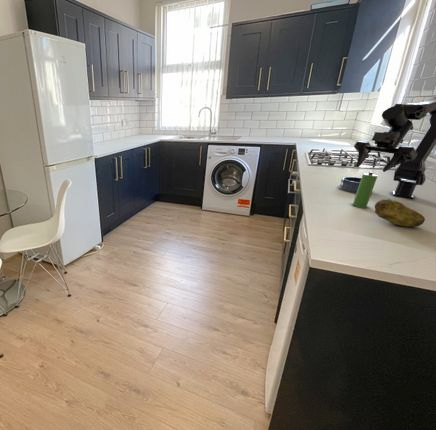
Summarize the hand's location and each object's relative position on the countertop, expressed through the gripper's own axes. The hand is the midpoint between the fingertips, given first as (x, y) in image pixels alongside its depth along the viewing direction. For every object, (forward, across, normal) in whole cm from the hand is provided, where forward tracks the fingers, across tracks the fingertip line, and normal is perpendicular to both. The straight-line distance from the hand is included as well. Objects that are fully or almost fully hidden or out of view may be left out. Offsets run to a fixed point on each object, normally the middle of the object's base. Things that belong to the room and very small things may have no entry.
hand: (369, 168), depth 111 cm
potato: (+18, +18, -1) cm, 26 cm away
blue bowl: (+1, -14, +25) cm, 28 cm away
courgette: (+14, +2, +6) cm, 15 cm away
